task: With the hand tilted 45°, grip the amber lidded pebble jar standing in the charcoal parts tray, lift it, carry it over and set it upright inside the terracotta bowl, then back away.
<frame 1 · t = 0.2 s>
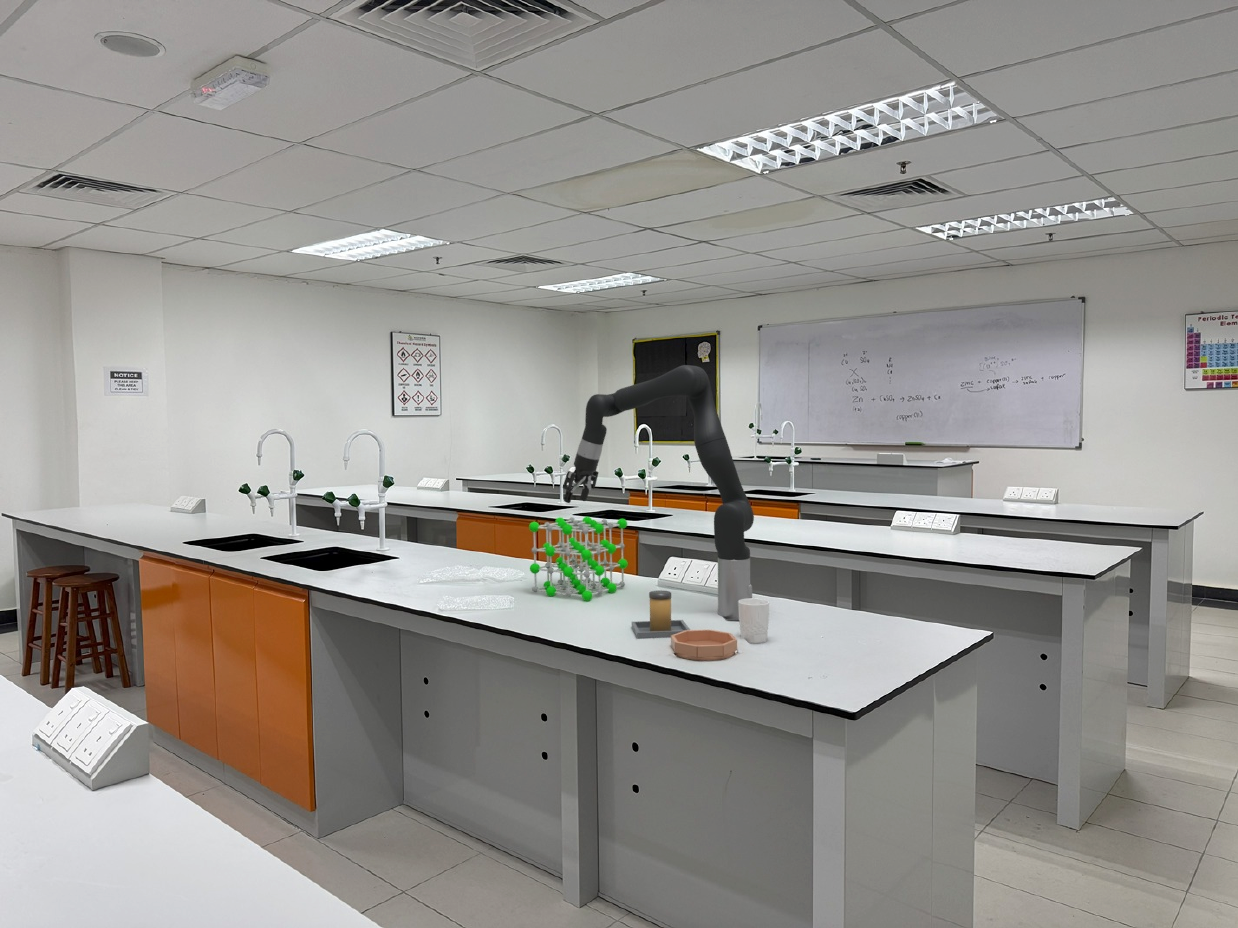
hand: (574, 501, 266), 31 cm above the countertop, tool tilted 20°, fingers open, 8 cm apart
white cup: (753, 640, 211), on the countertop
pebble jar: (660, 631, 217), point 1 cm above the countertop, touching parts tray
parts tray: (660, 635, 217), on the countertop
molecular structure model: (579, 592, 275), on the countertop
terracotta bowl: (703, 651, 201), on the countertop
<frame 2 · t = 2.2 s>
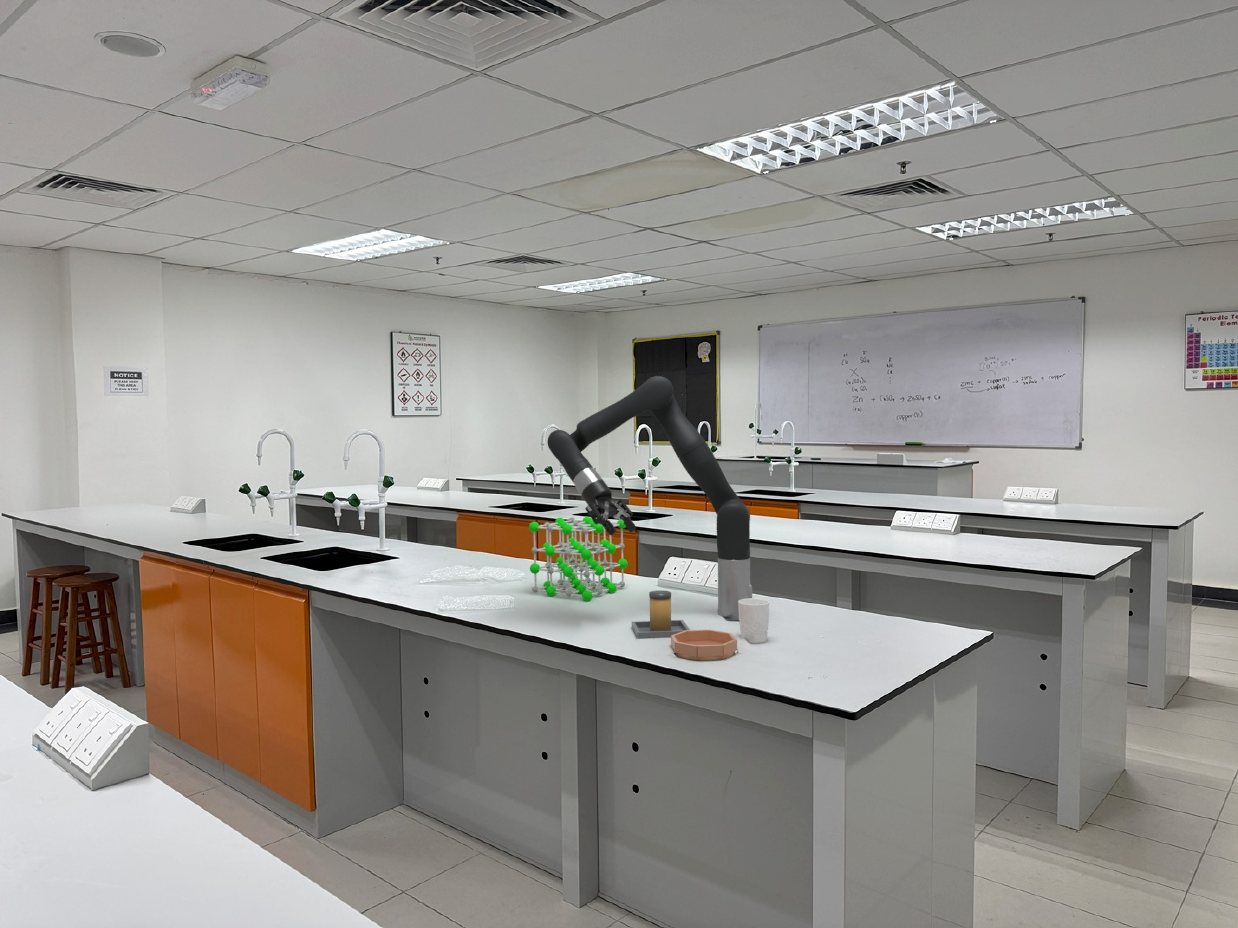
hand: (623, 531, 223), 27 cm above the countertop, tool tilted 45°, fingers open, 8 cm apart
nothing on the countertop moved.
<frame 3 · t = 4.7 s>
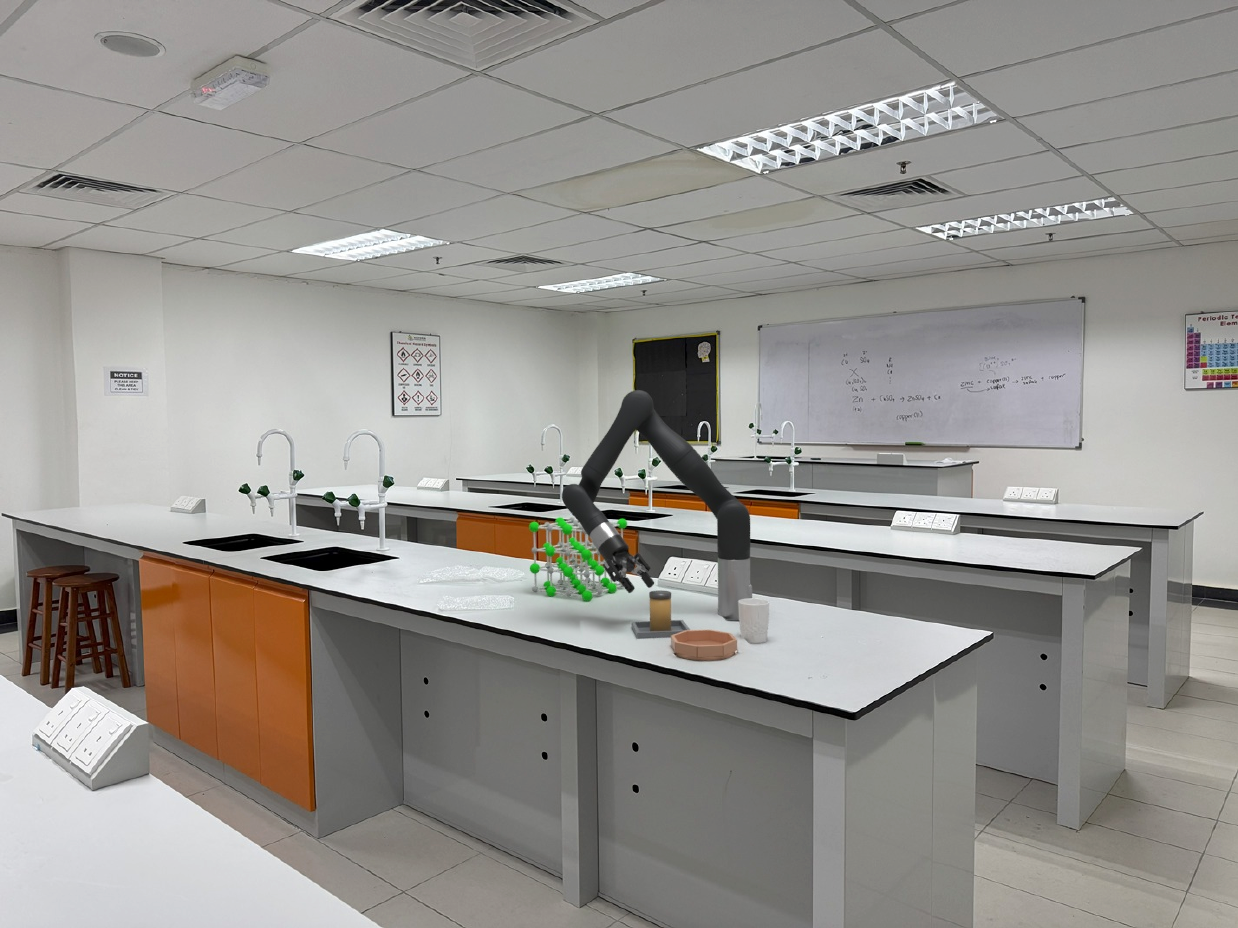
hand: (642, 588, 220), 12 cm above the countertop, tool tilted 45°, fingers open, 8 cm apart
nothing on the countertop moved.
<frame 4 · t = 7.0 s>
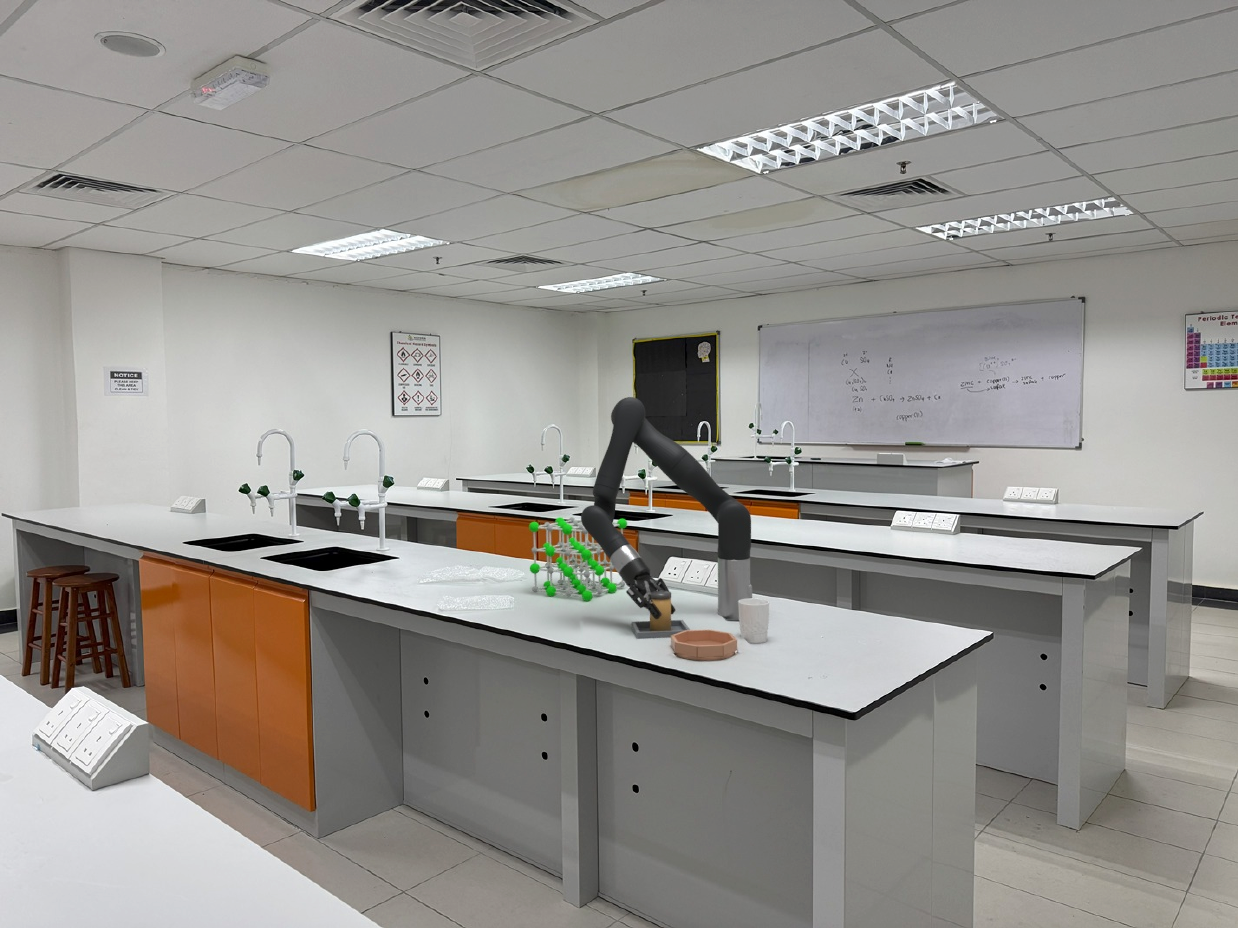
hand: (665, 614, 215), 6 cm above the countertop, tool tilted 45°, fingers closed on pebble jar, 5 cm apart
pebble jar: (660, 631, 217), point 1 cm above the countertop, touching gripper, parts tray
everything else where it was.
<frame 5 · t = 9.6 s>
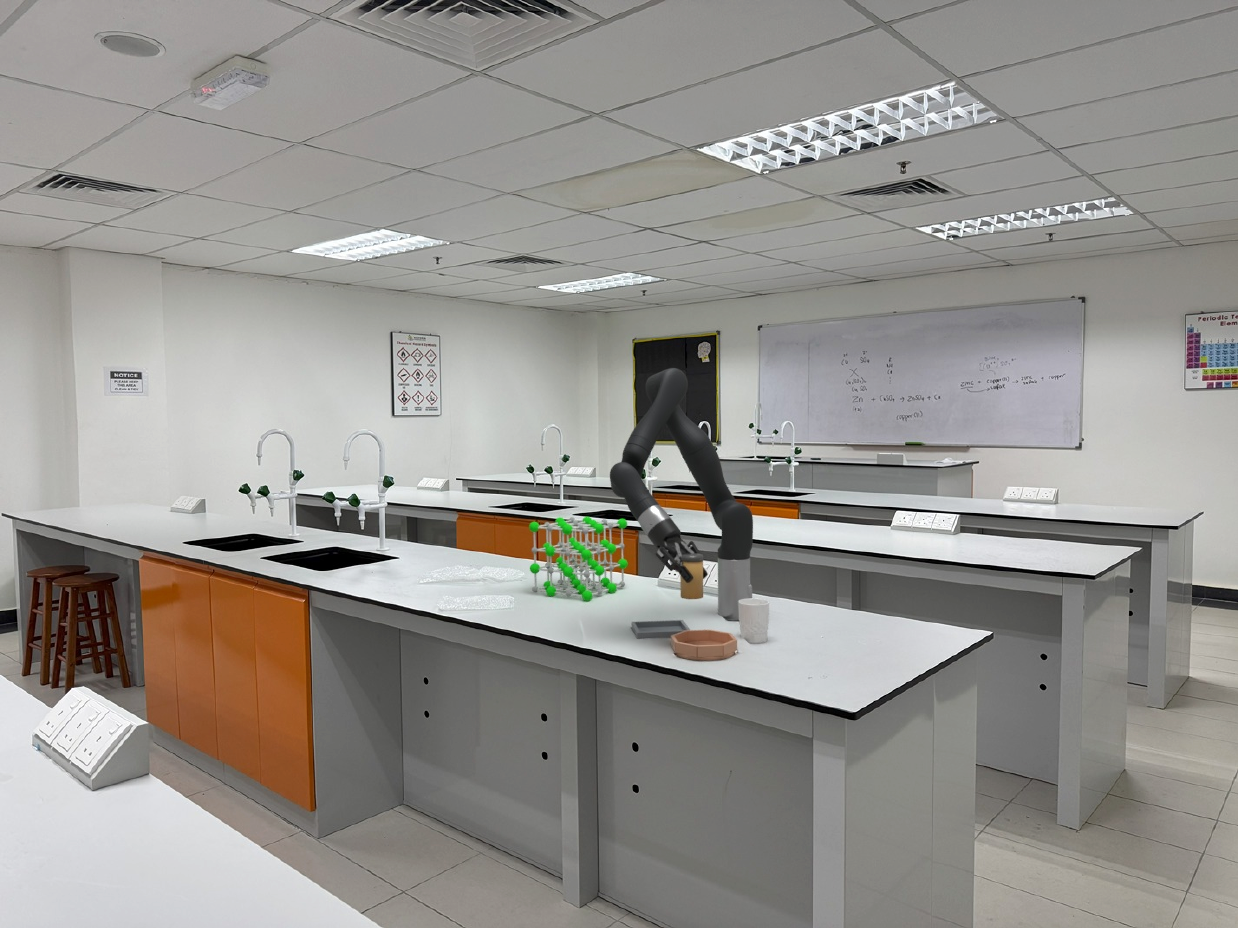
hand: (697, 578, 202), 18 cm above the countertop, tool tilted 45°, fingers closed on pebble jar, 5 cm apart
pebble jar: (691, 596, 203), point 13 cm above the countertop, touching gripper
everything else where it was.
when the fingers open (7 cm above the countertop, at t = 12.5 s): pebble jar drops 1 cm, resting on terracotta bowl.
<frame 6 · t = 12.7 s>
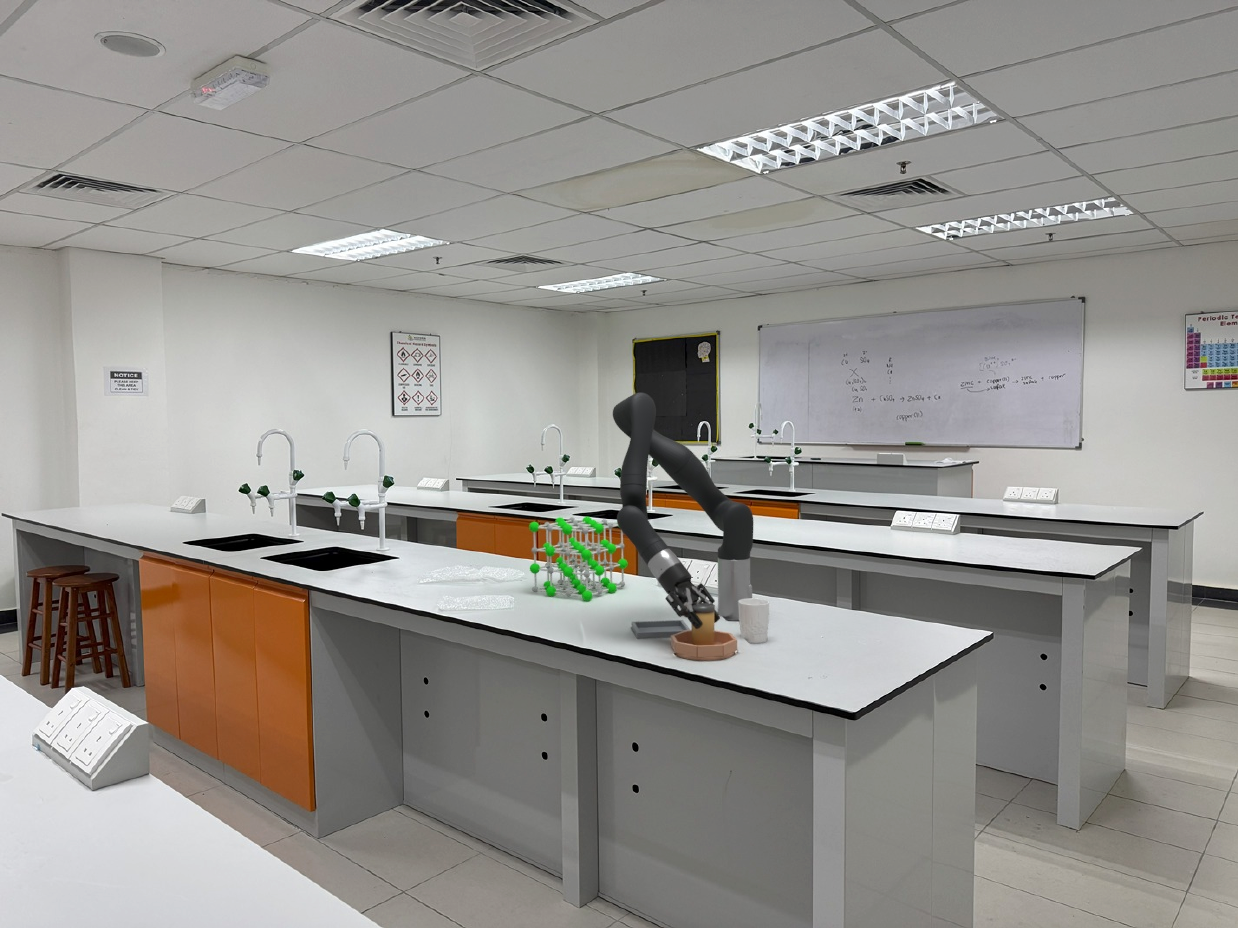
hand: (708, 623, 199), 7 cm above the countertop, tool tilted 45°, fingers open, 7 cm apart
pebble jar: (703, 647, 201), point 1 cm above the countertop, touching terracotta bowl
everything else where it was.
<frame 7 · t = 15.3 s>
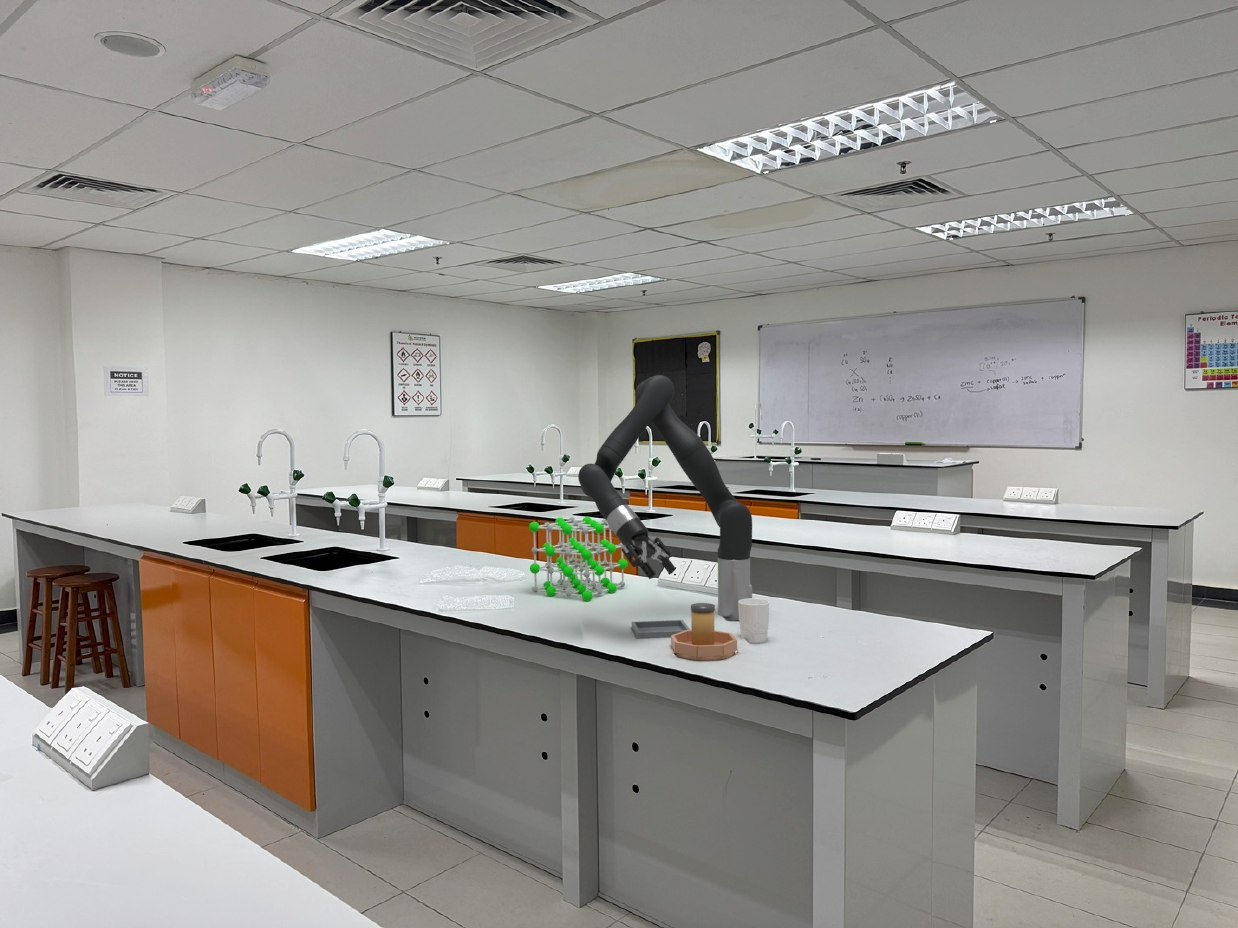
hand: (663, 574, 208), 18 cm above the countertop, tool tilted 45°, fingers open, 8 cm apart
nothing on the countertop moved.
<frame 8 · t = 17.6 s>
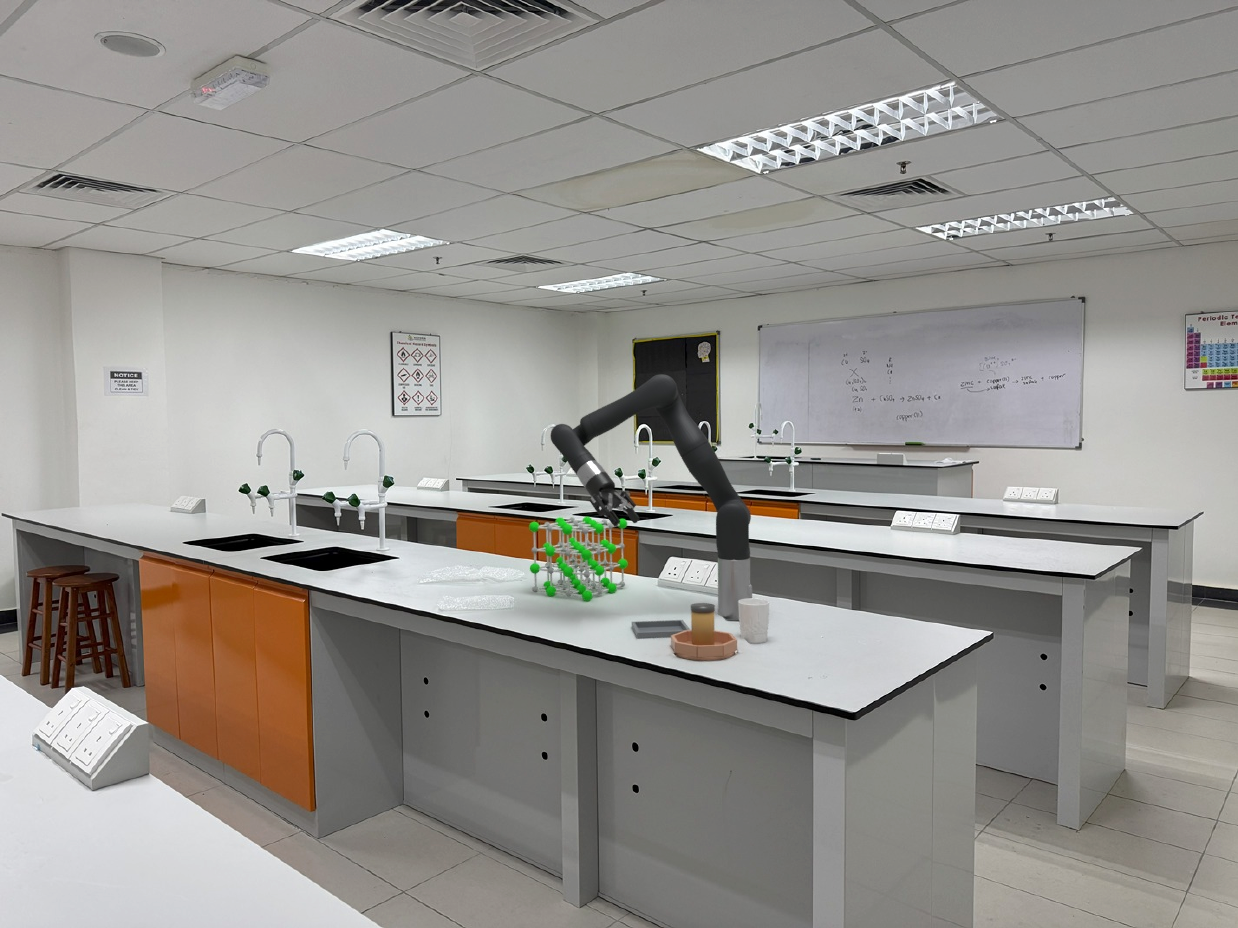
hand: (627, 522, 227), 29 cm above the countertop, tool tilted 45°, fingers open, 8 cm apart
nothing on the countertop moved.
at the end: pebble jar inside the target area on the terracotta bowl (0.1 cm from its centre), point 1.0 cm above the terracotta bowl's base; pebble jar tilted 0°; the gripper is holding nothing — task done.
